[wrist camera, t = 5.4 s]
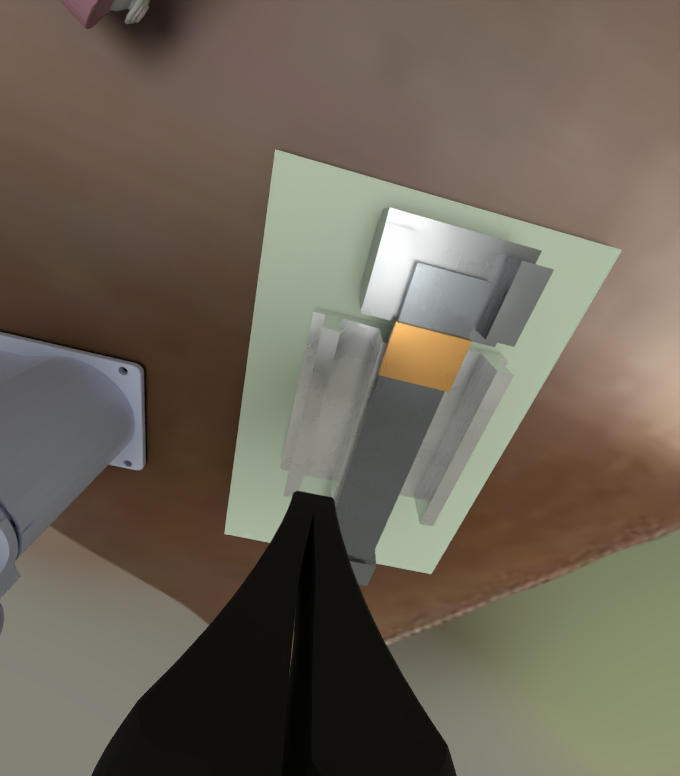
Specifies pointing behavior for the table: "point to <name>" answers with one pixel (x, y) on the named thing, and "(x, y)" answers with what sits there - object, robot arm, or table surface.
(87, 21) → the pink plastic car shape
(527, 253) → the hinge and catch
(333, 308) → the pale green board
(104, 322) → the table surface
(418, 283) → the bar
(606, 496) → the table surface
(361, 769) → the robot arm
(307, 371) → the heat sink
